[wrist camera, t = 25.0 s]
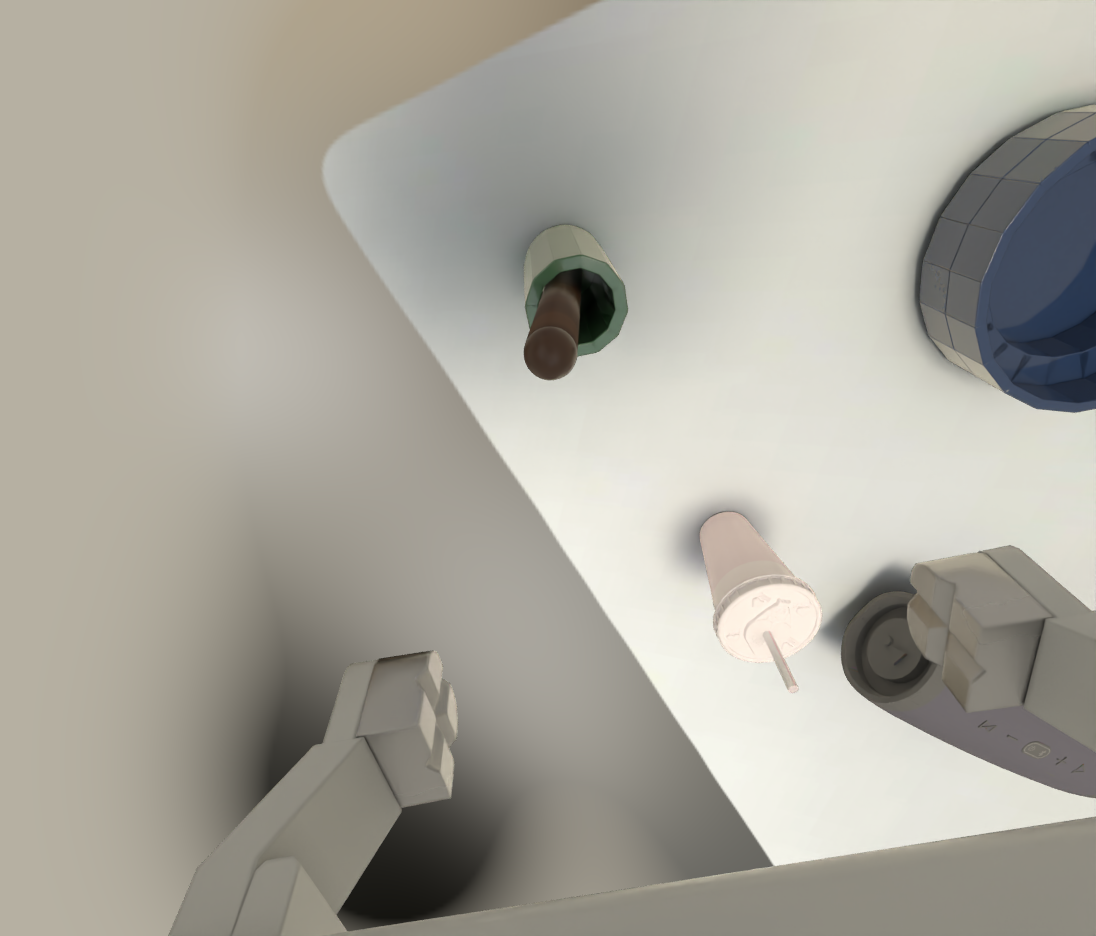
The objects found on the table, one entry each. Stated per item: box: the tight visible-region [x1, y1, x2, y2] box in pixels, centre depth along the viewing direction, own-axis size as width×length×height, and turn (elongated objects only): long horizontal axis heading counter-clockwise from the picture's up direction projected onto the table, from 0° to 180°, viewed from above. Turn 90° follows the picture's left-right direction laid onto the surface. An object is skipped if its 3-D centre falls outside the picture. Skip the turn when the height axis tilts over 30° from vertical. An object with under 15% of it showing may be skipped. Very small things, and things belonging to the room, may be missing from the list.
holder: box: [524, 225, 628, 357], centre depth 33 cm, size 5×5×9 cm
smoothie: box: [700, 512, 822, 693], centre depth 41 cm, size 6×6×14 cm
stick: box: [524, 268, 582, 380], centre depth 29 cm, size 2×2×18 cm
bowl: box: [919, 104, 1096, 413], centre depth 35 cm, size 15×15×6 cm
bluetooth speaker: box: [841, 591, 1096, 798], centre depth 49 cm, size 23×9×10 cm, turn 59°
